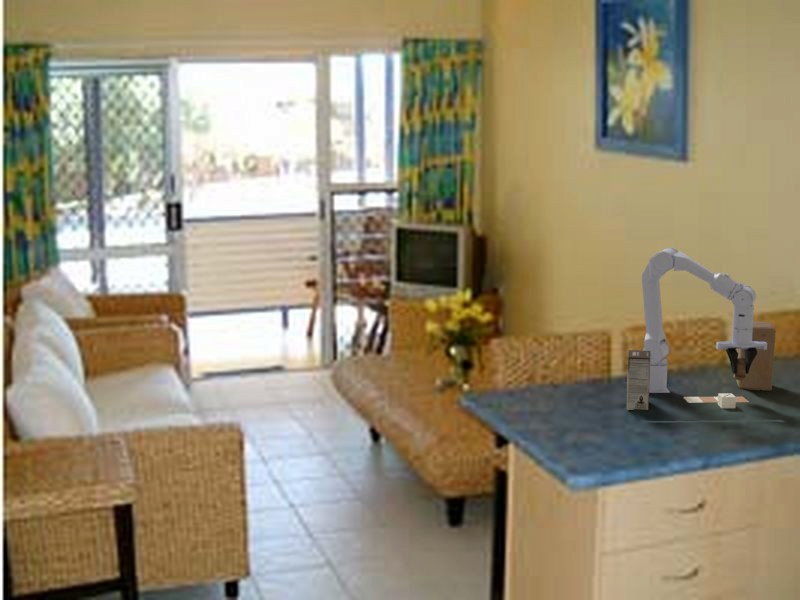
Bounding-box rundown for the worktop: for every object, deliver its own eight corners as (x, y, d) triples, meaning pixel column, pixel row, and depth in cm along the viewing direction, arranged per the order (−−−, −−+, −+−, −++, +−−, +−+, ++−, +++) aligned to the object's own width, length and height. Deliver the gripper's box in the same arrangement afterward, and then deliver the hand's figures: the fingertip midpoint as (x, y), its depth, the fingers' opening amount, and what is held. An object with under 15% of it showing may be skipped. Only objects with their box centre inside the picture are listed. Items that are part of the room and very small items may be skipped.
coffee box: (626, 401, 333) (628, 349, 330) (648, 403, 332) (650, 350, 329) (626, 410, 325) (628, 356, 322) (648, 411, 323) (651, 357, 320)
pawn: (735, 380, 330) (736, 358, 329) (731, 376, 334) (732, 355, 333) (748, 380, 330) (749, 358, 329) (744, 376, 334) (745, 355, 333)
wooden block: (772, 391, 344) (776, 328, 340) (738, 390, 346) (741, 326, 342) (768, 383, 354) (772, 321, 350) (735, 381, 355) (738, 320, 352)
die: (721, 410, 325) (722, 397, 324) (717, 406, 329) (718, 393, 328) (735, 410, 325) (736, 397, 324) (731, 406, 329) (731, 393, 328)
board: (688, 404, 331) (688, 402, 330) (683, 398, 337) (683, 396, 336) (749, 404, 331) (749, 402, 331) (742, 398, 337) (742, 396, 337)
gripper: (722, 331, 326) (719, 376, 328) (771, 330, 326) (769, 376, 328) (714, 325, 332) (712, 370, 335) (763, 325, 333) (761, 370, 335)
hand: (740, 372), depth 332 cm, fingers closed on pawn, 3 cm apart
